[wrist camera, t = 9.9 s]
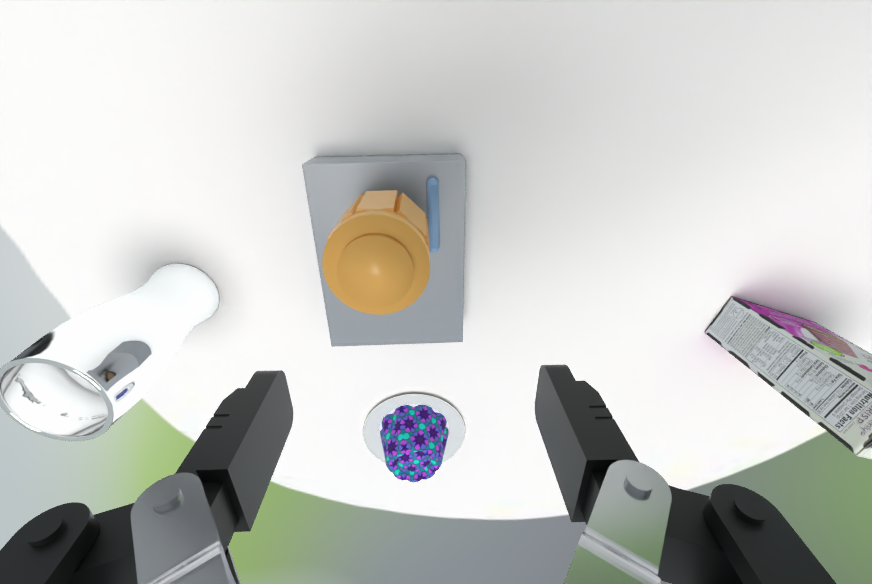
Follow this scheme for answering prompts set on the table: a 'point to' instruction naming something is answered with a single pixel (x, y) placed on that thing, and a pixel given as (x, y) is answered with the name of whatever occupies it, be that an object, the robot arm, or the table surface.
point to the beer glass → (105, 356)
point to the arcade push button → (378, 253)
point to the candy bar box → (803, 367)
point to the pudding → (414, 435)
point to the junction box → (445, 210)
